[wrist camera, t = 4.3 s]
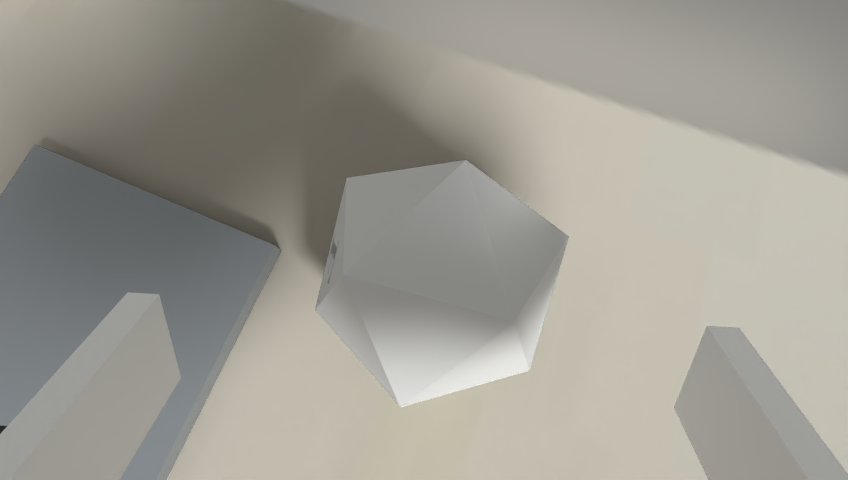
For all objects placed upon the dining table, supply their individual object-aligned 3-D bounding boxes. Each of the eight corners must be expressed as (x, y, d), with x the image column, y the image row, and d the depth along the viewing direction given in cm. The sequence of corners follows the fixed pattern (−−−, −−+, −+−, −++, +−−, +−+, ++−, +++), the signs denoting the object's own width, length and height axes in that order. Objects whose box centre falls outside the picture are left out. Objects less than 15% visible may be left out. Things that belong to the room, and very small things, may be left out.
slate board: (281, 250, 23) (274, 245, 22) (141, 527, 20) (127, 534, 19) (50, 153, 24) (34, 144, 23) (-111, 402, 21) (-137, 403, 21)
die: (446, 164, 25) (282, 113, 17) (626, 206, 20) (510, 162, 12) (404, 326, 26) (231, 348, 18) (565, 405, 21) (421, 483, 13)
